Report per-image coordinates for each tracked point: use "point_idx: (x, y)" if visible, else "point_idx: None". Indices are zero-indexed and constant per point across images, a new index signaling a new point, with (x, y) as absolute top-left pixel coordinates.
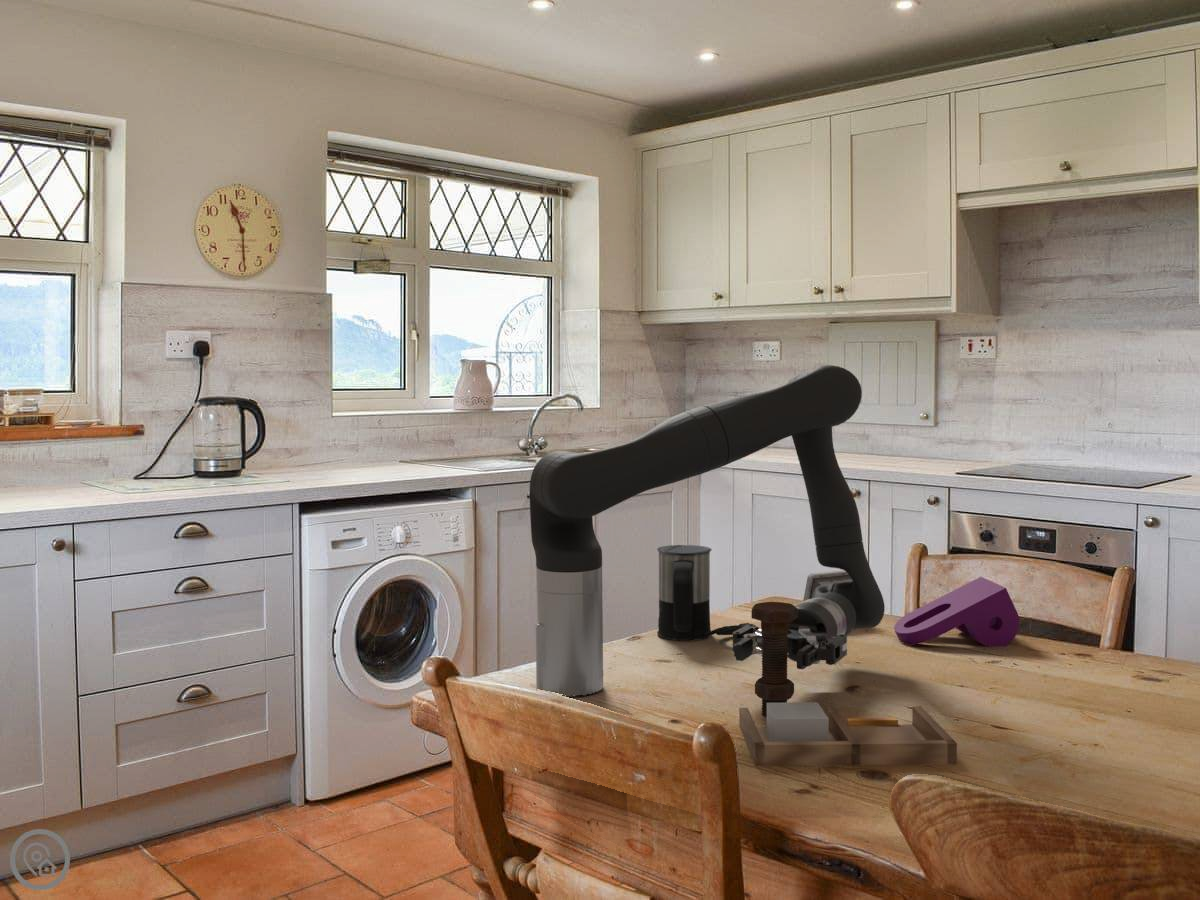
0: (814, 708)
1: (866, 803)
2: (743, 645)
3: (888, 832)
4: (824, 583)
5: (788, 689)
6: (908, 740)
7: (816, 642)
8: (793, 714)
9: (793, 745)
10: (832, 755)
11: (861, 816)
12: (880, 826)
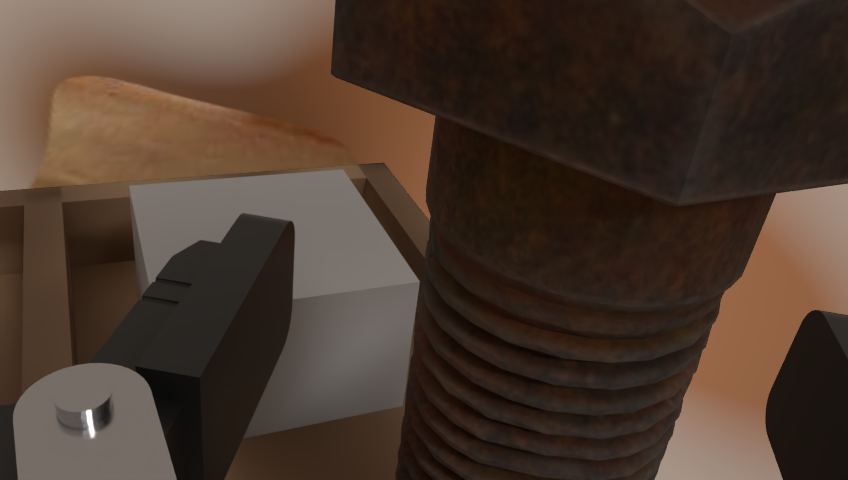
0: None
1: (72, 178)
2: (825, 352)
3: (57, 111)
4: None
5: None
6: None
7: (62, 398)
8: (278, 203)
9: (267, 173)
10: None
11: (101, 142)
12: (68, 122)
